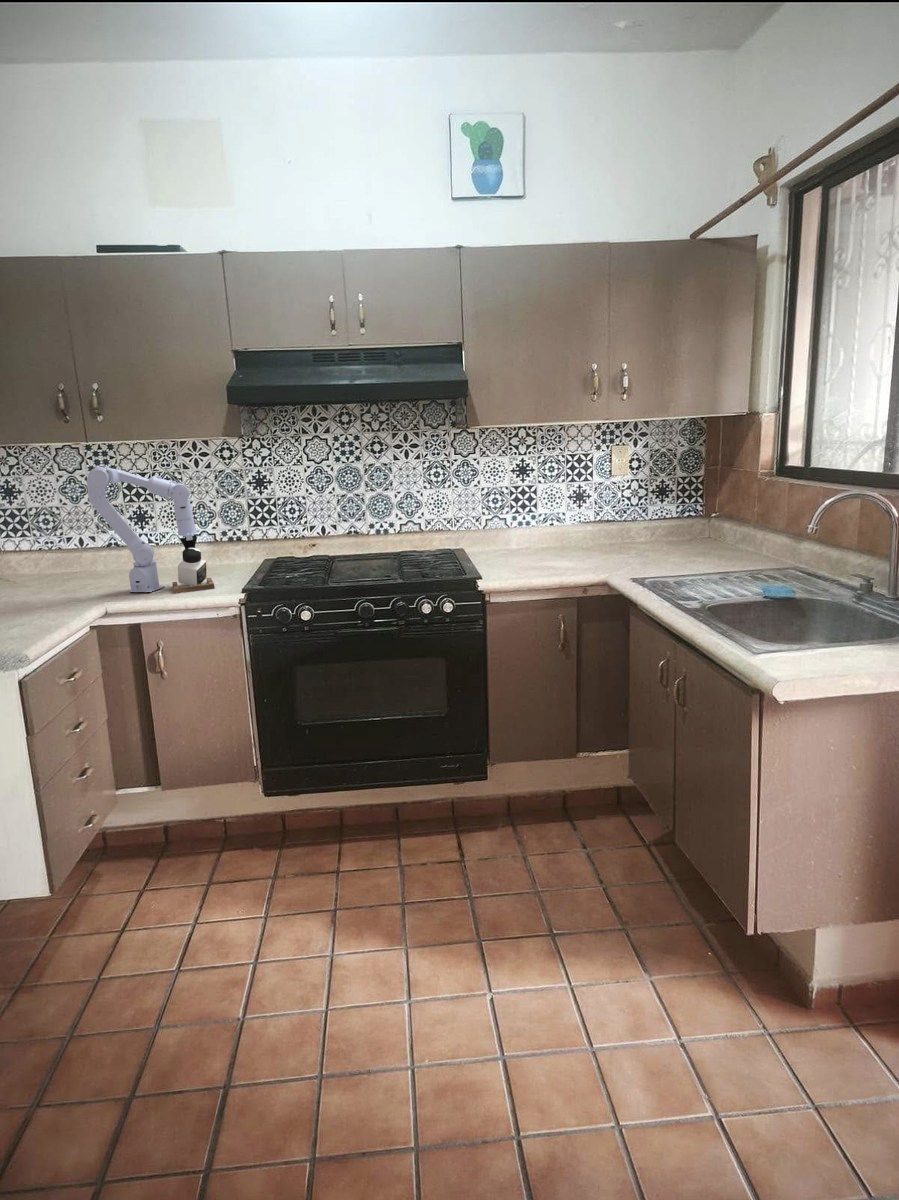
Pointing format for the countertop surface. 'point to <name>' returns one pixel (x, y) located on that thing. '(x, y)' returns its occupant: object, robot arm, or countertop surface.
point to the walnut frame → (193, 587)
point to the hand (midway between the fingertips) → (191, 557)
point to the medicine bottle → (192, 568)
